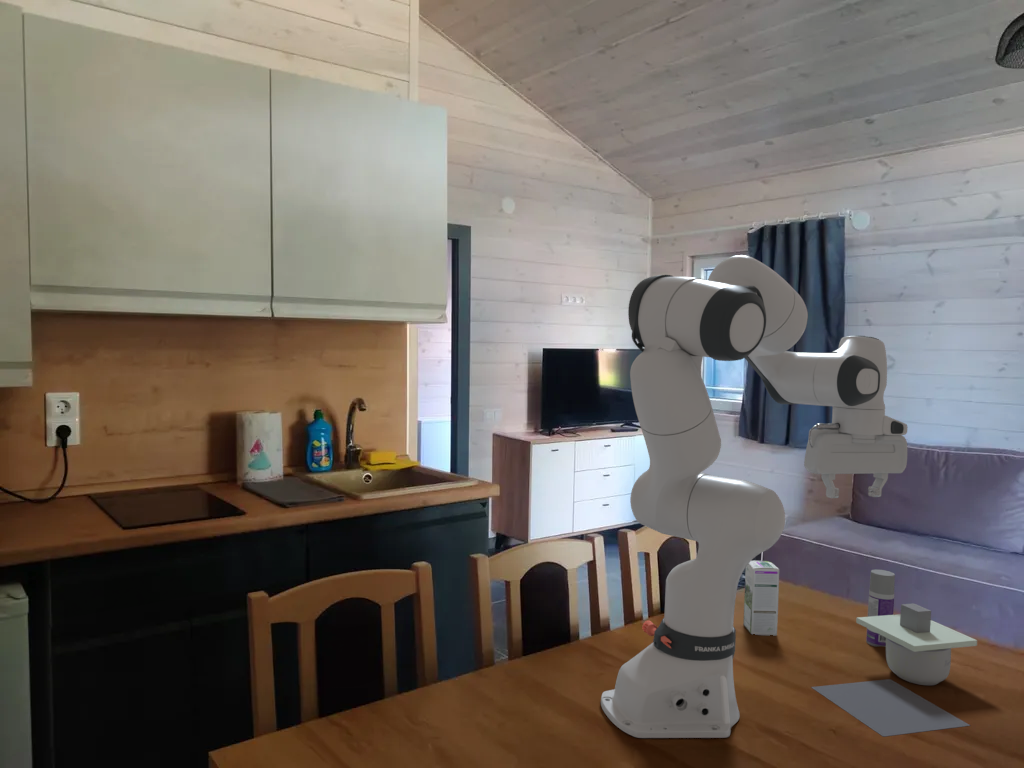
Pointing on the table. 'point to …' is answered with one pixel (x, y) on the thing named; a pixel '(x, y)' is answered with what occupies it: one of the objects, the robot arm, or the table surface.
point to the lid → (916, 630)
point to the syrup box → (761, 598)
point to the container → (880, 601)
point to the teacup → (918, 663)
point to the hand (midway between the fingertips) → (853, 497)
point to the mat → (889, 707)
